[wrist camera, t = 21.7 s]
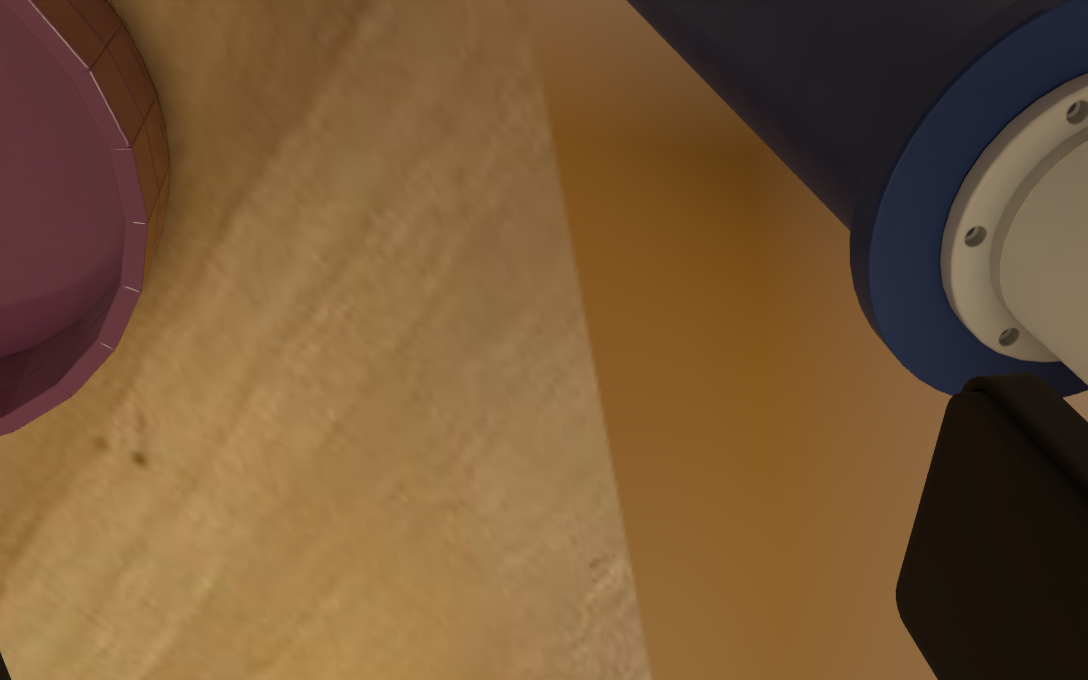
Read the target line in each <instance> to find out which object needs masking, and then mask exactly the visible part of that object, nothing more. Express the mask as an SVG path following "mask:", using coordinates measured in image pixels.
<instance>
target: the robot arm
mask: <svg viewBox="0 0 1088 680" xmlns="http://www.w3.org/2000/svg"><path fill="white" fill-rule="evenodd" d="M940 266H941V275H942V284H943V288H944V291H945V293H946V296H947V299H948V302H949V304H950V307H951V308H952V310H953V311H954V313H955V314H956V315H957V317H958V318H959V320H960V321H961V322H962V324H963V325H964V326H965V327H966V328H967V329H968V330H969V331H970V332H971V333H972V334H974V335H975V336H976V337H977V338H978V339H979V340H980V341H981V342H982V343H983V344H985V345H986V346H988V347H989V348H991V349H993V350H994V351H996V352H998V353H1000V354H1003V355H1007V356H1010V357H1013V358H1016V359H1019V360H1026V361H1036V362H1055V361H1062V362H1063V363H1064V364H1065V365H1066V366H1067V367H1068V368H1069V369H1070V370H1072V371H1073V372H1074V373H1075V374H1076V375H1077V376H1078V377H1079V378H1080V379H1081V380H1083V381H1084V382H1085V383H1086V384H1087V385H1088V73H1086V74H1084V75H1082V76H1079V77H1077V78H1074V79H1072V80H1070V81H1067V82H1065V83H1064V84H1062V85H1061V86H1059V87H1057V88H1056V89H1054V90H1052V91H1051V92H1049V93H1048V94H1046V95H1044V96H1043V97H1041V98H1039V99H1038V100H1036V101H1035V102H1034V103H1033V104H1031V105H1030V106H1029V107H1028V108H1026V109H1025V110H1024V111H1023V112H1022V113H1020V114H1019V115H1018V116H1017V117H1016V118H1014V119H1013V120H1012V121H1011V122H1010V123H1008V124H1007V126H1006V127H1005V128H1004V129H1003V130H1002V131H1001V132H1000V133H999V134H998V135H997V136H996V138H995V139H994V140H993V141H992V142H991V143H990V144H989V145H988V146H987V147H986V148H985V150H984V151H983V152H982V154H981V155H980V157H979V158H978V160H977V161H976V163H975V164H974V166H973V167H972V168H971V170H970V171H969V173H968V174H967V176H966V177H965V179H964V181H963V183H962V185H961V187H960V189H959V191H958V193H957V195H956V197H955V200H954V202H953V204H952V206H951V209H950V212H949V215H948V219H947V222H946V225H945V229H944V232H943V237H942V247H941V256H940ZM896 602H897V607H898V611H899V614H900V617H901V619H902V621H903V623H904V625H905V627H906V628H907V630H908V632H909V633H910V635H911V636H912V638H913V640H914V641H915V643H916V645H917V646H918V648H919V650H920V651H921V653H922V654H923V656H924V658H925V659H926V661H927V663H928V664H929V666H930V668H931V669H932V671H933V672H934V674H935V676H936V677H937V679H938V680H1088V422H1087V421H1086V420H1085V419H1084V418H1083V417H1082V416H1080V414H1079V413H1077V412H1076V411H1075V410H1074V409H1073V408H1072V407H1071V406H1070V405H1069V404H1068V403H1067V402H1066V401H1065V400H1064V399H1063V398H1062V397H1061V396H1060V395H1059V394H1058V393H1057V392H1056V391H1055V390H1054V389H1053V388H1051V387H1050V386H1049V385H1048V384H1047V383H1046V382H1045V381H1044V380H1043V379H1042V378H1040V377H1039V376H1037V375H1036V374H1033V373H1027V372H1025V373H1014V374H1003V375H991V376H980V377H975V378H972V379H970V380H969V381H968V382H967V383H966V384H965V385H964V387H963V389H962V392H961V393H958V394H955V395H953V397H952V398H951V399H950V400H949V403H948V405H947V407H946V411H945V415H944V418H943V422H942V425H941V429H940V433H939V436H938V440H937V443H936V447H935V450H934V454H933V458H932V461H931V464H930V468H929V472H928V475H927V479H926V482H925V486H924V490H923V493H922V496H921V500H920V504H919V507H918V511H917V514H916V518H915V521H914V525H913V529H912V532H911V536H910V540H909V543H908V546H907V550H906V553H905V557H904V561H903V564H902V568H901V571H900V575H899V579H898V582H897V587H896ZM0 680H11V678H10V675H9V673H8V670H7V668H6V665H5V663H4V660H3V658H2V655H1V653H0Z"/></svg>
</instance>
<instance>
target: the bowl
mask: <svg viewBox="0 0 1088 680" xmlns="http://www.w3.org/2000/svg"><path fill="white" fill-rule="evenodd" d="M168 193H169V154H168V146H167V138H166V129H165V124H164V121H163V117H162V113H161V109H160V106H159V102H158V98H157V94H156V91H155V89H154V86H153V84H152V82H151V79H150V77H149V74H148V72H147V69H146V67H145V65H144V62H143V60H142V57H141V56H140V54H139V52H138V50H137V48H136V47H135V45H134V43H133V41H132V40H131V38H130V36H129V34H128V32H127V31H126V29H125V27H124V25H123V24H122V22H121V21H120V19H119V18H118V16H117V15H116V14H115V12H114V11H113V10H112V8H111V7H110V5H109V4H108V3H107V1H106V0H0V436H2V435H5V434H8V433H12V432H14V431H15V430H18V429H20V428H21V427H23V426H25V425H26V424H28V423H30V422H31V421H33V420H35V419H36V418H38V417H40V416H41V415H43V414H44V413H46V412H48V411H49V410H51V409H53V408H54V407H56V406H58V405H59V404H61V403H63V402H64V401H66V400H68V399H69V398H71V397H72V395H75V394H76V393H77V391H78V390H79V389H80V388H81V387H82V386H83V385H84V384H85V383H86V382H87V380H88V379H89V378H90V377H91V376H92V375H93V374H94V373H95V372H96V371H97V369H98V368H99V367H100V366H101V365H102V364H103V363H104V362H105V361H106V360H107V358H108V357H109V356H110V355H111V354H112V353H113V352H114V351H115V349H116V347H117V346H118V344H119V342H120V340H121V337H122V335H123V333H124V331H125V328H126V326H127V324H128V322H129V319H130V317H131V315H132V313H133V310H134V308H135V306H136V304H137V301H138V299H139V297H140V295H141V292H142V289H143V287H144V284H145V281H146V278H147V275H148V272H149V269H150V266H151V263H152V260H153V257H154V254H155V252H156V249H157V246H158V243H159V240H160V237H161V234H162V230H163V223H164V215H165V209H166V204H167V198H168Z"/></svg>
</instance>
